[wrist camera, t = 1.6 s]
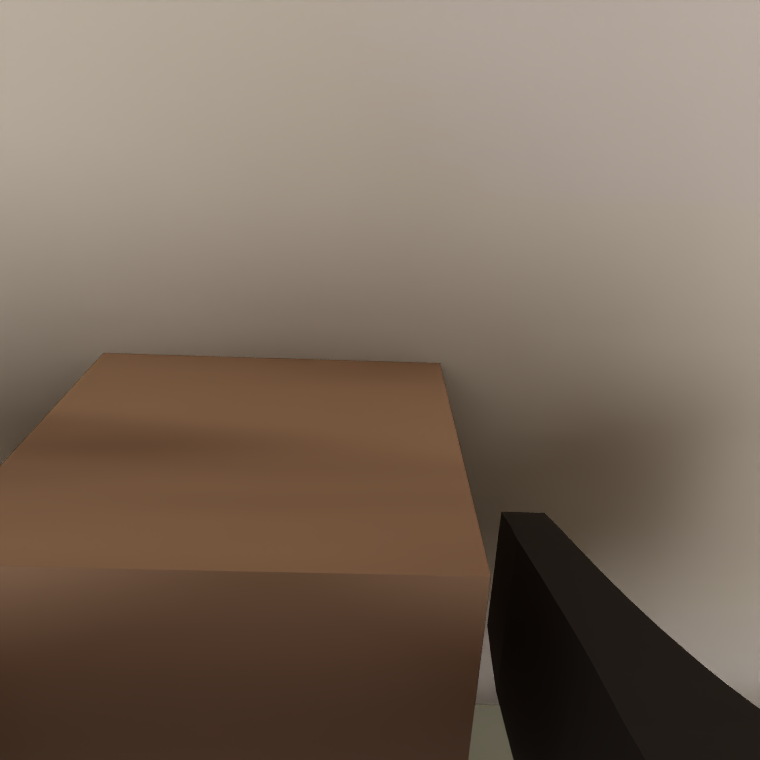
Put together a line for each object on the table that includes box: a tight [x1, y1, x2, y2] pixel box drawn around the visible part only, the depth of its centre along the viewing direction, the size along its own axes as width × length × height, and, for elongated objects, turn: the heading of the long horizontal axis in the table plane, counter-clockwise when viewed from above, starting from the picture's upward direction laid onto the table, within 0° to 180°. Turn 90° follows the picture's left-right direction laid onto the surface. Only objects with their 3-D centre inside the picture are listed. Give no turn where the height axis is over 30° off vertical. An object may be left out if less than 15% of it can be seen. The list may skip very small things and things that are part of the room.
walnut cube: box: [0, 353, 491, 760], centre depth 10 cm, size 5×5×5 cm
